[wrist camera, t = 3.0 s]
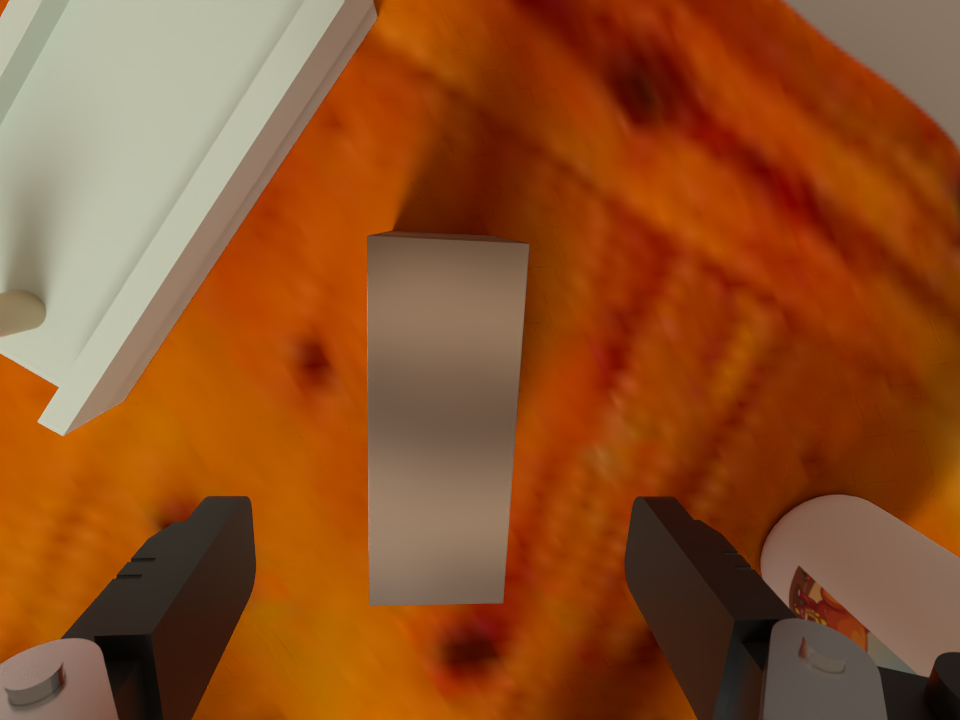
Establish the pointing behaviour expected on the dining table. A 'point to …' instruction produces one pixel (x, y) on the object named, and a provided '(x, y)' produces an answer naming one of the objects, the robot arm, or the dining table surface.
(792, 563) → the milk bottle
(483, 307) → the wooden block
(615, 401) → the dining table surface
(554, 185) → the dining table surface
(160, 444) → the dining table surface
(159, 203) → the ledge
